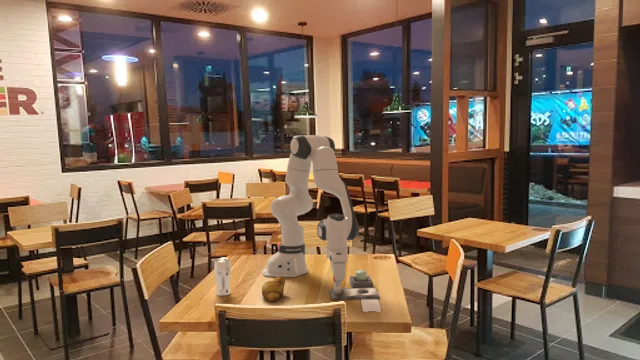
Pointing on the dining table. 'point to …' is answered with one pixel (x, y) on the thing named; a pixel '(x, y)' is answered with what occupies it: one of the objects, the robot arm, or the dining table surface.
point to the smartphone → (370, 305)
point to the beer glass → (222, 276)
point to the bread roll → (273, 289)
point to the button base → (360, 283)
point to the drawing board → (355, 293)
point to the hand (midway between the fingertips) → (337, 284)
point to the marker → (336, 289)
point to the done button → (361, 275)
